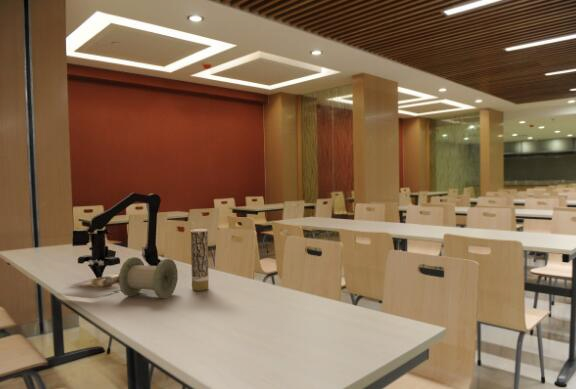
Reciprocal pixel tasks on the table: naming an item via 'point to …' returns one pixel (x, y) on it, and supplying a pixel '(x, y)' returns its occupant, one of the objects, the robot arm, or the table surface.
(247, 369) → the table surface
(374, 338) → the table surface
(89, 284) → the board
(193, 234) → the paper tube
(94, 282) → the maple plate
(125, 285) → the spool
